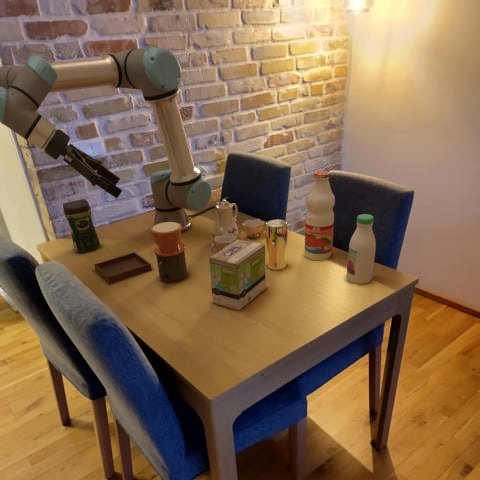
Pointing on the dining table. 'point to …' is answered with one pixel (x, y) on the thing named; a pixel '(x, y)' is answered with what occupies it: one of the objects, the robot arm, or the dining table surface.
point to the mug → (172, 268)
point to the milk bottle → (361, 251)
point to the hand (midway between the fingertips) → (118, 188)
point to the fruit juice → (319, 218)
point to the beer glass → (276, 243)
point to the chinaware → (231, 226)
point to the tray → (122, 267)
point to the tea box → (237, 273)
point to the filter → (167, 239)
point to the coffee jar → (81, 225)
